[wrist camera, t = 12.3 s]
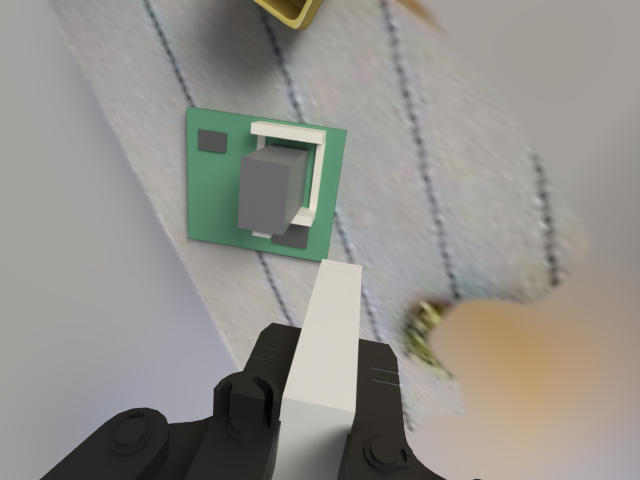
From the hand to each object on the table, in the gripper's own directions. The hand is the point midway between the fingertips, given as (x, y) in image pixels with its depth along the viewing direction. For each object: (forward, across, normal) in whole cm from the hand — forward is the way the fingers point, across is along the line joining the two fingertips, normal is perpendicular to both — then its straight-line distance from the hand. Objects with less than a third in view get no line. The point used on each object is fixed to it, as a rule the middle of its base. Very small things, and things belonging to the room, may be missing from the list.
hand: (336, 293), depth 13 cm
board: (+27, -10, -4) cm, 29 cm away
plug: (+26, -7, -2) cm, 27 cm away
